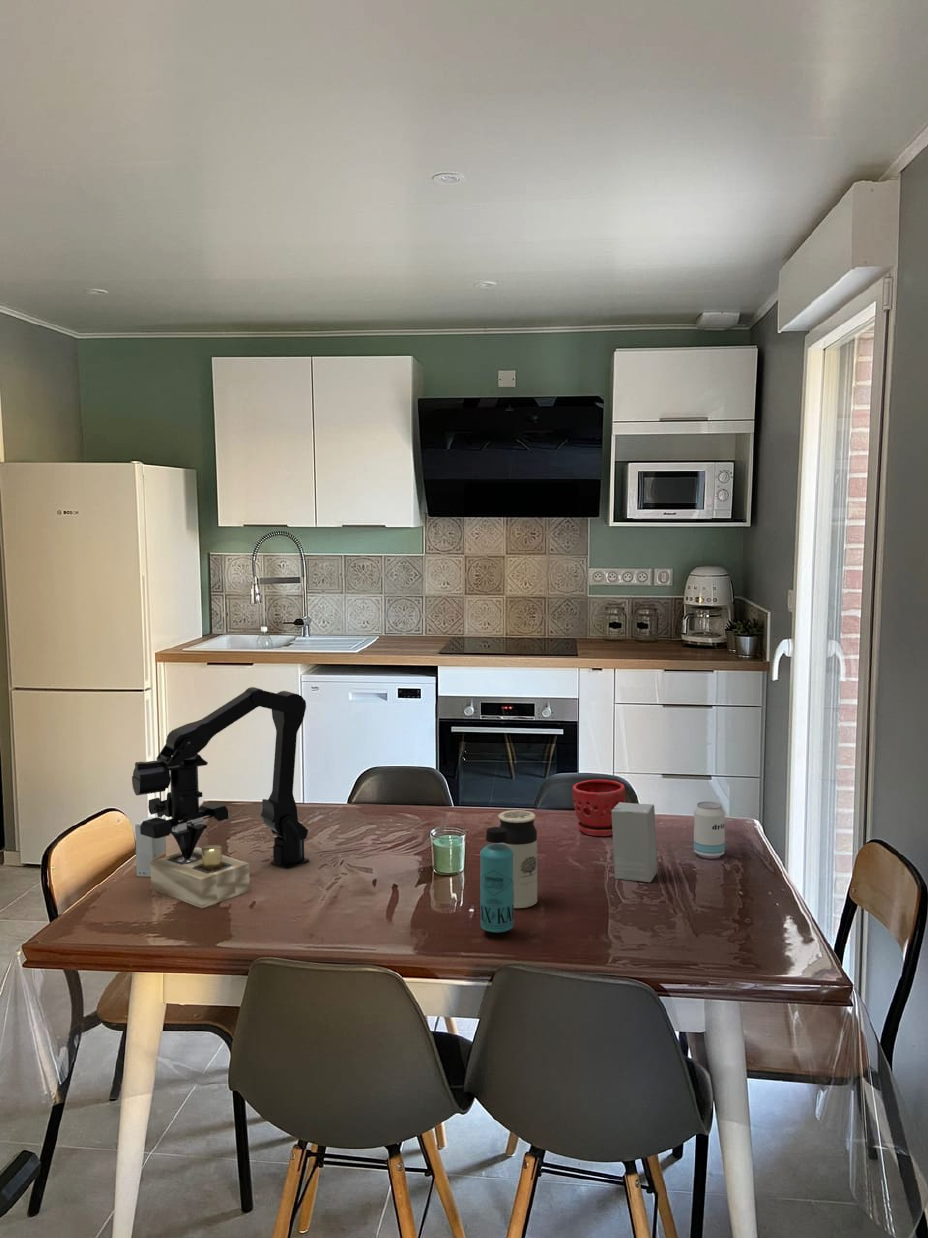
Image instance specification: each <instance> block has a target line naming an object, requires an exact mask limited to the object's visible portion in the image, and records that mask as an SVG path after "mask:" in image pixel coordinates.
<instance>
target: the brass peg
mask: <svg viewBox="0 0 928 1238" xmlns="http://www.w3.org/2000/svg"><path fill="white" fill-rule="evenodd" d="M222 849H223V848H222V846H221V845H218V844H210V845H205V846H203V847H202V869H203V870H206V871H209V872H211V871H214V870H217V869H220V868H222V855H223V851H222Z"/></svg>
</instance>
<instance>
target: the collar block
mask: <svg viewBox="0 0 928 1238" xmlns="http://www.w3.org/2000/svg"><path fill="white" fill-rule="evenodd" d="M202 848H203V847H202ZM202 848H201V847H199V846H198V847H195V849H194V851H193V853H192V855H191V856H195V857H196V858H197V859H195V860H192V861H189V862H186V863H182V862H179V861H177V859H178V858H180V857H183V855H182V853H181V852H177V853H174V854H171V855H168V856H167V855H166V857H164V858H161V859H157V860H154V861H151V862H150V868H151V877H150V889H151V890H152V891H155V892H158V893H161V894H163V895H166V896H168V897H171V898H174V899H176V900H178V901H182V902H185V903H187V904H189V905H192V906H195V907H197V908H199V909H204V908H208V907H210V906H214V905H215V904H218V903H221V902H223V901H226V900H229V899H232V898H235V897H237V896H241V895H243V894H245V893H248V892H250V891H251V888H250V887H251V886H250V884H251V883H250V863H249V862H246V861H243V860H240V859H236V858H234V857H230V856H228V855H224V854H222V868H220V869H217V870H214V871H211V872H209V871H206V870H203V869H202Z"/></svg>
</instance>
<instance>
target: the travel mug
mask: <svg viewBox="0 0 928 1238" xmlns="http://www.w3.org/2000/svg"><path fill="white" fill-rule="evenodd" d="M498 819H499V822H500V823H499V827H503V828H506V829H507V833H508V841H506V842H504V843H497V844H504V845H507V846H508V847H509V848H510V849H511V850H512V851H513V853H514V855H513V881H514V909H526V908H530V907H532V906H534V905H535V904H537V902H538V830H537V829H536V826H535V824H534V822H535V819H536V814H535V813H534V812H531V811H529V810H528V811H527V810H521V809H519V810H517V809H512V810H506V811H502V812H500V813H499V814H498Z"/></svg>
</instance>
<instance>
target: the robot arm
mask: <svg viewBox="0 0 928 1238" xmlns="http://www.w3.org/2000/svg"><path fill="white" fill-rule="evenodd" d="M259 707H261V708H265V709H269V710H271V716H272V717H271V718H272V720H273V724H274V727H275V733H276V735H275V743H274V745H275V748H274V761H273V762H274V763H273V775H272V776H273V777H272V789H271V793H270V794H269V795H270V796H269V798H268V799H265V798H263V799H262V801H261V803H262V811H261V813H260V817H261V818H262V819H263V820H262V821H263V823H264V825H265V826H266V827H267V828H269V829H270V831H271V833H272V835H275V836H276V837H274V840H273V842H274V844H273V846H272V850H273V860H270V864H272V865H275V866H279V867H282V868H285V869H291V868H295V867H298V866H300V865H303V864H306V863H308V862H310V859H309V858H307V857H305V840H306V839H307V836H308V833H309V829H308V828H307V827H305V826H304V825H303V824H302V823H300V822H299V815H298V806H297V804H296V800H295V797H294V784H295V783H294V779H295V766H296V755H297V754H296V752H297V737H298V731H299V729H300V727H301V725H302V724H303V721H304V719H305V713H306V709H307V702H306V699H305V698H304V697H303V696H302V695H300V694H299V693H294V692H290V691H287V690H281V691H278V692H271V691H268V690H263V689H261V688H259V687H255V686H254V687H253V686H250V687H248V688H246V689H245V690H244V691H243V692H242V693H240V694H239V695H237V696H236V697H234V698H233V699H231V700H230V701H228V702H226V703H225V704H223V705H222V706H220V707H219V708H216V709H215V710H214V711H212V712H211V713H209V714H207V715H206V716H204V717H203V718H201V719H199V720H196V721H193V722H189V723H185V724H183V725H181V726H179V727H177V728H174V729H172V730H171V731H169V732H168V734H167V735H166V740H165V744H164V746H163V748H162V749H161V750H160V752H159V754H158V755H157V757H156V760H151V761H137V762H135V763H134V769H133V770H132V771H133V773H132V776H131V782H132V783H131V785H132V790H133V792H134V794H135V795H136V797H137V796H143V795H144V796H145V795H149V794H155V793H163V792H165V791H166V790H167V789H170V791H169V792H167V794H166V799H164V800H161V798H160V797H156V798H155V797H154V798H151V799H148V807H147V808H148V811H149V814H150V815H156V816H155V817H156V818H153V819H149V820H145V821H143V822H142V824H141V826H140V834H142V835H145V836H148V837H151V838H154V839H155V838H161V837H165V836H166V837H168V836H170V834H171V835H172V836H173V838H174V839H175V841H176V843H177V845H178V848H179V850H180V853H182V855H183V857H184V859H186V860H188V859H190V858H191V855H192V853H193V851H194V849H195V848H196V846H197V844H198V842H199V840H200V838H201V836H202V834H203V832H204V831H205V830H206V829H208V825H206V824H204V820H207V819H210V818H213V817H214V818H213V819H215V820H216V822H222V821H225V820H227V819H229V818H230V812H229V811H230V810H229V808H228V806H226V805H224V804H221V803H217V802H211V803H208V804H203V805H200V798H202V797H203V791H199V767H203V766H207V765H208V763H209V762H208V761H207V760H205V759H203V757H202V756H201V754H199V753H200V752H201V751H202V750H203V749H204V748H206V747H207V745H208V744H209V743H210V742H211V739H213V737H215V736H216V735H217V734H219V733H220V732H221V731H224V730H225V729H226V728H228V727H230V726H231V725H232V724H234V723H235V722H237V721H239V720H240V719H241V718H244V716H246V715H248V714H249V713H251V712H252V711H253V710H255V709H257V708H259ZM169 787H170V788H169ZM163 816H165V819H161V818H163ZM158 817H161V818H158ZM166 818H169V819H166Z"/></svg>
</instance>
